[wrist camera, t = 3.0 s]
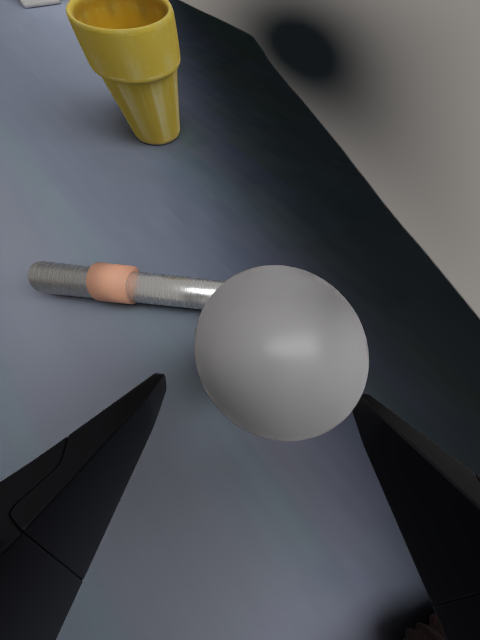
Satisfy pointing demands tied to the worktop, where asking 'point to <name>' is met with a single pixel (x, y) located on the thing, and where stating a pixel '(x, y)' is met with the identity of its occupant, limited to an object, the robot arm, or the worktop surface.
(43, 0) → the medicine bottle
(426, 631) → the dark brown lump
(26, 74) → the worktop surface
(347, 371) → the white grey cylinder
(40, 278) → the grey steel rod
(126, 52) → the plant pot
